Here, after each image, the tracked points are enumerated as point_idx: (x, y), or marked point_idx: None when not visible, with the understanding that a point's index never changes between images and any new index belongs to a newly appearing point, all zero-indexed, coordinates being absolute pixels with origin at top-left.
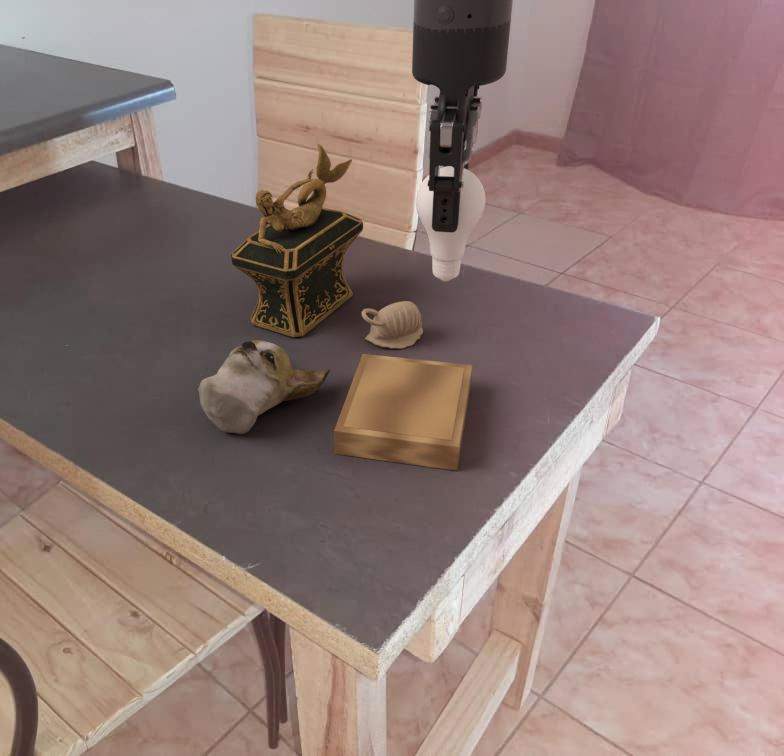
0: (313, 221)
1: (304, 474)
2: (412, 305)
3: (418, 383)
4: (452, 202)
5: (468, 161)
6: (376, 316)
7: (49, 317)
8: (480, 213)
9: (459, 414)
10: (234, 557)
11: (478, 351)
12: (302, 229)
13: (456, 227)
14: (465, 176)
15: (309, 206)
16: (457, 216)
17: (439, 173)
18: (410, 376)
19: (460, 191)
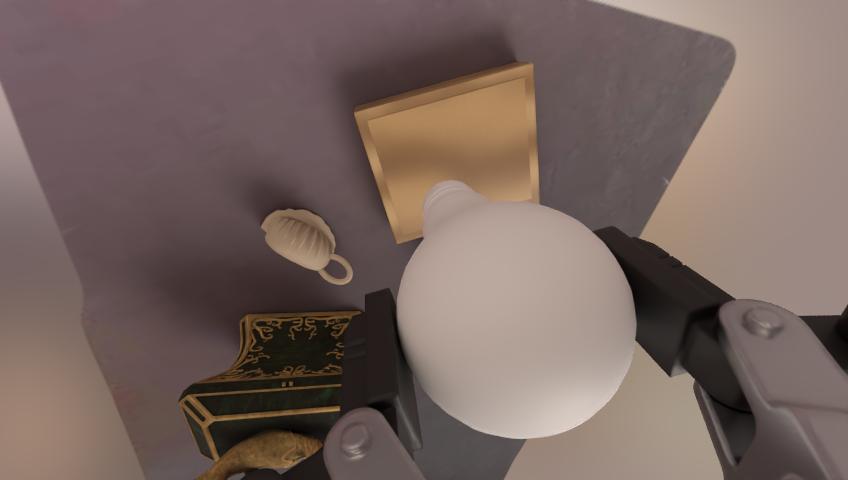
0: (273, 434)
1: (559, 200)
2: (284, 242)
3: (428, 161)
4: (715, 290)
5: (831, 410)
6: (324, 267)
7: (433, 453)
8: (526, 204)
9: (470, 87)
10: (658, 197)
11: (263, 128)
12: (292, 430)
13: (618, 230)
14: (595, 347)
15: (259, 461)
16: (640, 248)
17: (724, 421)
18: (418, 176)
19: (753, 300)
